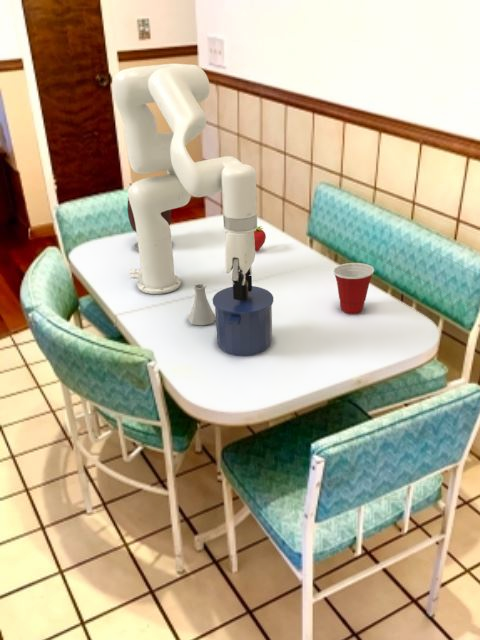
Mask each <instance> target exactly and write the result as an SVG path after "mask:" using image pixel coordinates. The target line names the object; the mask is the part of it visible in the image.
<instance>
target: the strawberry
mask: <svg viewBox="0 0 480 640" xmlns="http://www.w3.org/2000/svg"><path fill="white" fill-rule="evenodd" d="M254 239H255V252H259V251H260V250H261V248H262V247H263V246H264V244H265V242H266V239H267V235H266V232H265V231H264V228H263V227H262V225H260V226H257V229H256V230H255V231H254Z"/></svg>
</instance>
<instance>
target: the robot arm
mask: <svg viewBox="0 0 480 640" xmlns="http://www.w3.org/2000/svg"><path fill="white" fill-rule="evenodd" d="M210 89H211V85H210V81H209V77H208V75H207V73H206V72H205V71H204V70H203V68H201V66H199V65H196V64H185V63H164V64H163V63H162V64H154V65H141V66H133V67H128V68H125V69H121V70H120V71H118V72H117V73H116V74H115V75H114V78H113V80H112V94H113V98H114V102H115V104H116V108H117V110H118V112H119V115H120V117H121V120H122V125H123V131H124V138H125V145H126V152H127V158H128V163H129V166H130V168H131V170H132V171H133V172H134V173H135V174H137V175H148V174H153V173H158V172H163V171H166V174H161V175H155V176H151V177H145V178H142V179H138V180H136V181H134V182H133V183H132V185H131V186H130V185H129V188H128V191H127V199H128V198H129V202H130V205H131V208H132V212H133V215H134V220H135V225H136V232H135V233H136V239H137V242H138V248H139V252H138V255H139V263H140V264H139V265H140V269H135V268H130V269H129V277H130V279H133V280H134V279H137V280H138V281H137V289H138V290H139V291H141V292H142V293H146V294H149V295H160V294H161V295H163V294H167V293H171V292H173V291H176V290H177V289H178V288H180V286H181V284H182V281H181V278H180V277H179V276H178V275H175V274H176V273H175V264H174V253H173V252H174V251H173V243H172V232H171V231H172V230H171V226H169V224H168V222H167V221H166V220H165V219H164V218H163V217H162V216H161V212H164V211H166V210H171V211H172V210H174V209H178V208H182V207H184V206H186V205H188V204H189V202H190V201H191V197H195V198H203V197H207V196H211V195H216V194H221V195H222V197H221V199H222V215H223V218H222V219H223V230H224V231H225V232H226V233H225V244H224V245H225V248H224V249H225V250H224V262H225V263H224V268H225V269H224V270H225V273H226V274H230V273H231V281H232V287H233V298H234V299H235V300H247V284H245V280H247V281H248V291H249V292H251V291H252V286H253V276H252V274H253V272H252V270H253V269H252V265H253V263H254V261H255V258H256V251H255V239H254V231H255V230H256V229H257V227H258V203H257V202H258V199H257V197H258V195H257V194H258V193H257V172H256V169H255V167H253V166H252V165H251V164H245V163H243V162H241V161H240V160H239V159H237V158H236V157H235V156H232V155H231V156H230V155H228V156H227V155H226V156H219V157H215V158H209V159H205V160H198V161H194V159H192V157H191V155H190V153H189V152H188V150H187V147H186V146H187V145H188V144H190V143H191V142H192V141H193V140H194V139H196V138H197V137H198V136H199V135H201V133H202V132H203V131H204V130H205V128H206V126H207V122H208V121H207V119H208V118H207V116H206V113H205V112H204V110H203V109H202V107H201V106H200V104H199V103H201V102H204V101H205V100H206V99H207V98H208V97H209V95H210V92H211V91H210ZM150 103H154V104H156V106H157V108H158V110H159V111H160V113H161V115H162V116H163V118H164V120H165V121H166V123H167V125H168V127H169V128H170V130H171V131H167V132H166V131H165V132H160V133H159V132H158V125H157V119H156V116H155V114H154V112H153V111H152V109H151V108H150V107H149V106H148V104H150Z"/></svg>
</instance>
